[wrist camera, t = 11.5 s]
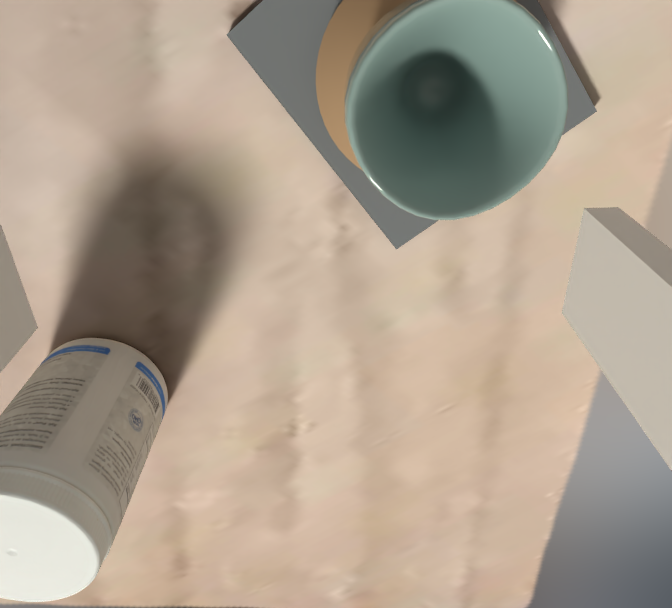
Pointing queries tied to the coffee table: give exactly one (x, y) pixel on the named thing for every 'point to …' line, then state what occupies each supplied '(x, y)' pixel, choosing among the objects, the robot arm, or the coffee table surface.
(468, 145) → the cup
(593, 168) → the coffee table surface
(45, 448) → the supplement tub
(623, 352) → the robot arm
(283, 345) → the coffee table surface
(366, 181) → the stand
